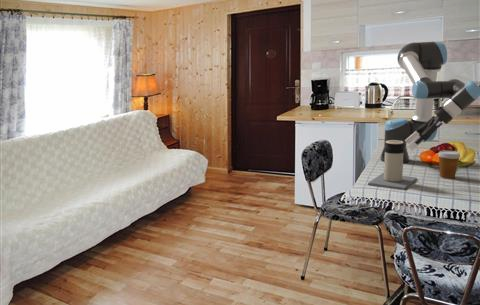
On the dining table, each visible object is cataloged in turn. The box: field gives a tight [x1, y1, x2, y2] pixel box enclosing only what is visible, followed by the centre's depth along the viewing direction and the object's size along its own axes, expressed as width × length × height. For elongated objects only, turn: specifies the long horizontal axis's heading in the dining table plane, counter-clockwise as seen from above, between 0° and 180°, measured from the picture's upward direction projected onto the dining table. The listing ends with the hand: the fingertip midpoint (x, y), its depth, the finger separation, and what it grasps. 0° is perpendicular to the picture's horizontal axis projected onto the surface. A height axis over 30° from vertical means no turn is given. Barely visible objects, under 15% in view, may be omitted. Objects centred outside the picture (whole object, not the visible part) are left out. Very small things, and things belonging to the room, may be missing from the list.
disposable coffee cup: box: [437, 150, 461, 180], centre depth 198 cm, size 10×10×12 cm
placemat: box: [367, 172, 417, 191], centre depth 193 cm, size 20×16×1 cm
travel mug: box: [383, 140, 404, 182], centre depth 192 cm, size 8×8×18 cm
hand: (408, 145), depth 188 cm, fingers open, 13 cm apart
